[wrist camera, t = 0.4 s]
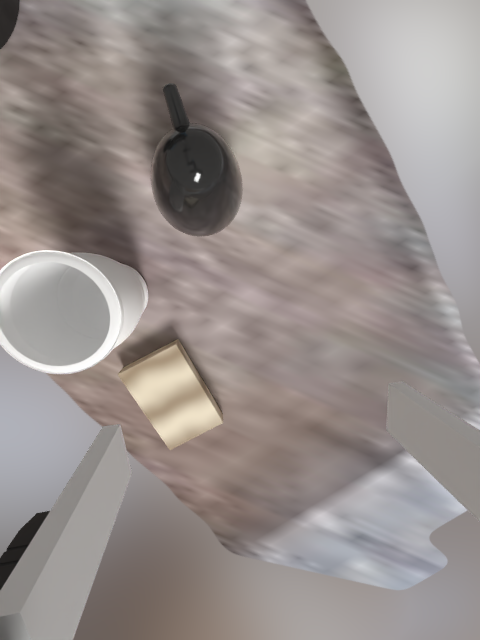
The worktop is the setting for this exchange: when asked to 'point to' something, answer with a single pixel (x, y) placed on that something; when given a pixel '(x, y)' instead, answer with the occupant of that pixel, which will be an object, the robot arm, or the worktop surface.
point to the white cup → (67, 309)
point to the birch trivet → (172, 394)
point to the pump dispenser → (194, 174)
